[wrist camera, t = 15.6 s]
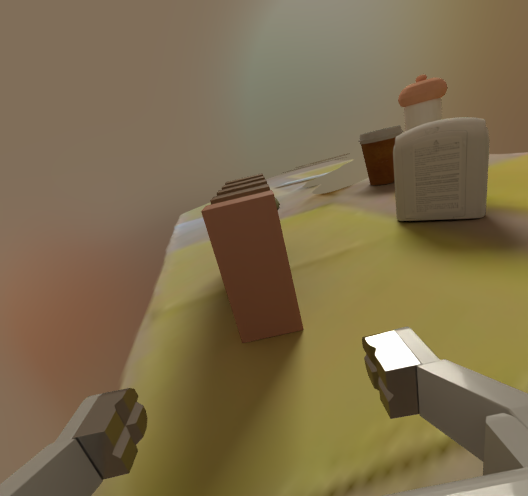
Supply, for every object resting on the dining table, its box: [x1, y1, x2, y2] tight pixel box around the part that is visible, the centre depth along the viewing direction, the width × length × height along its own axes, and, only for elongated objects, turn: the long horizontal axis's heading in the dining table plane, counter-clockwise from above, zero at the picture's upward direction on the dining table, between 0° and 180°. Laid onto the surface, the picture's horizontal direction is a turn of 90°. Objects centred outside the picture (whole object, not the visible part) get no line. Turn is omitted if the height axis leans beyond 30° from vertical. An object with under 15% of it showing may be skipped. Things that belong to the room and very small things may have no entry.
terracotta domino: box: [201, 190, 303, 343], centre depth 21 cm, size 2×5×11 cm, turn 92°
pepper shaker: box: [398, 75, 447, 132], centre depth 48 cm, size 7×7×19 cm
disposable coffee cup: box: [359, 126, 403, 185], centre depth 66 cm, size 10×10×12 cm
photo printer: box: [393, 117, 489, 221], centre depth 36 cm, size 10×4×12 cm, turn 57°
